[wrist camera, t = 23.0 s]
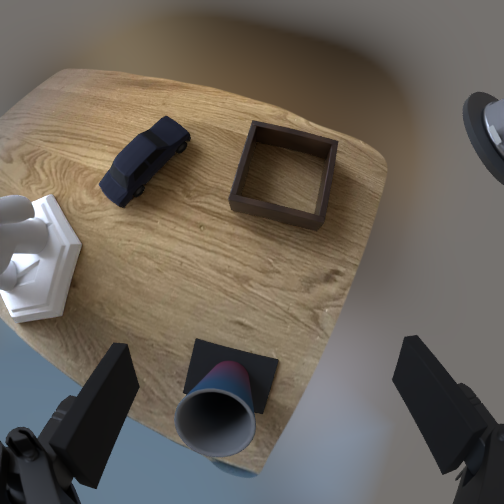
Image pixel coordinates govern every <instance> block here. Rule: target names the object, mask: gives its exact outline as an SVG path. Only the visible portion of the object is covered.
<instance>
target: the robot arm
mask: <svg viewBox="0 0 504 504" xmlns="http://www.w3.org/2000/svg"><path fill="white" fill-rule="evenodd" d="M481 119H482V124H483V128H484V130H485V133H486V135H487V137H488V139H489V141H490V143H491V145H492V146H493V148H494V150H495V151H496V152H497V154H498V155H499V156H500V157H501V159H502V160H503V161H504V99H502V100H499V101H497V102H491V103H489V104H488V105H486V106H485V107H484V108H483V110H482V113H481ZM392 381H393V383H394V384H395V386H396V388H397V390H398V391H399V393H400V395H401V397H402V398H403V400H404V402H405V404H406V406H407V407H408V409H409V411H410V413H411V415H412V417H413V418H414V420H415V422H416V424H417V426H418V428H419V430H420V431H421V433H422V435H423V437H424V439H425V441H426V443H427V445H428V447H429V449H430V451H431V452H432V455H433V456H434V458H435V460H436V462H437V464H438V467H439V469H440V471H441V473H442V475H444V474H446V473H449V472H451V471H453V470H456V469H457V468H458V467H459V466H460V465H461V463H462V462H463V461H465V464H466V466H465V468H464V469H463V470H462V471H461V472H460V473H459V475H458V476H457V477H456V480H458V479H459V478H460V477H461V480H460V483H459V486H458V490H457V493H456V496H455V499H454V502H453V504H504V424H498V423H497V422H496V421H495V419H494V418H493V417H492V415H491V414H490V413H489V411H488V410H487V409H486V407H485V406H484V405H483V403H481V401H480V400H479V399H478V397H476V394H475V393H474V392H473V391H472V390H471V388H469V387H468V386H466V385H465V384H463V383H460V384H457V383H456V382H455V381H454V380H453V378H452V377H451V376H450V375H449V373H448V372H447V371H446V369H445V368H444V367H443V366H442V364H441V363H440V362H439V361H438V360H437V358H436V357H435V356H434V355H433V354H432V352H431V351H430V350H429V349H428V347H427V346H426V345H425V344H424V343H423V342H422V341H421V339H420V338H419V337H418V336H417V335H414V336H407V337H404V340H403V344H402V348H401V351H400V355H399V359H398V362H397V366H396V369H395V372H394V376H393V378H392ZM139 387H140V386H139V383H138V380H137V377H136V373H135V370H134V366H133V363H132V359H131V355H130V352H129V348H128V344H124V343H114V342H113V344H112V345H111V347H110V348H109V350H108V351H107V352H106V354H105V355H104V357H103V358H102V360H101V361H100V363H99V364H98V366H97V367H96V369H95V370H94V371H93V373H92V374H91V376H90V377H89V379H88V380H87V382H86V383H85V385H84V386H83V388H82V390H81V391H80V393H79V394H78V396H77V397H75V396H71V395H70V396H68V397H67V398H66V399H64V400H63V401H62V402H61V403H60V405H59V406H58V407H57V409H56V412H54V413H53V415H52V418H50V420H49V421H48V423H47V424H46V426H45V427H44V429H43V430H42V432H41V433H40V435H39V437H38V438H36V436H35V435H34V434H33V432H32V431H31V430H30V429H28V428H25V427H18V428H15V429H13V430H12V431H11V432H9V434H8V435H7V437H6V444H7V445H8V447H5V446H4V445H3V444H2V443H1V441H0V504H81V502H80V500H79V497H78V495H77V493H76V490H75V488H74V486H73V484H72V480H73V477H75V479H76V480H77V481H78V482H79V483H80V484H82V485H85V486H88V487H91V488H94V489H97V486H98V484H99V481H100V479H101V476H102V474H103V471H104V469H105V466H106V464H107V461H108V459H109V456H110V454H111V451H112V449H113V447H114V444H115V442H116V440H117V437H118V435H119V433H120V430H121V428H122V426H123V423H124V421H125V418H126V416H127V414H128V412H129V410H130V407H131V405H132V403H133V401H134V398H135V396H136V394H137V392H138V390H139Z"/></svg>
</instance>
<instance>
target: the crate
mask: <svg viewBox="0 0 504 504" xmlns="http://www.w3.org/2000/svg"><path fill="white" fill-rule="evenodd" d="M257 142H259V143H264V144H268V145H273V146H277V147H282V148H286V149H290V150H294V151H298V152H302V153H306V154H310V155H313V156H317V157H321V158H324V159H325V162H324V167H323V173H322V178H321V183H320V188H319V194H318V199H317V204H316V208H315V213H314V214H311V213H307V212H304V211H300V210H296V209H292V208H288V207H284V206H280V205H276V204H272V203H268V202H264V201H260V200H255V199H251V198H247V197H243V196H241V194H242V191H243V187H244V184H245V180H246V177H247V173H248V170H249V166H250V163H251V160H252V156H253V153H254V149H255V146H256V143H257ZM337 147H338V141H336V140H332V139H329V138H325V137H322V136H318V135H314V134H310V133H307V132H303V131H299V130H295V129H290V128H286V127H282V126H277V125H273V124H268V123H264V122H259V121H254V120H252V123H251V126H250V130H249V133H248V136H247V139H246V142H245V145H244V149H243V152H242V155H241V158H240V162H239V165H238V168H237V172H236V175H235V178H234V182H233V185H232V188H231V192H230V195H229V198H228V200H229V204H230V208H231V210H233V211H237V212H242V213H246V214H250V215H254V216H258V217H262V218H266V219H270V220H274V221H278V222H282V223H286V224H290V225H294V226H298V227H302V228H306V229H310V230H314V231H317V230H318V229H319V228H320V227H321V226H322V225H323V224H324V221H325V216H326V210H327V205H328V200H329V195H330V189H331V183H332V178H333V172H334V166H335V160H336V154H337Z"/></svg>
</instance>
